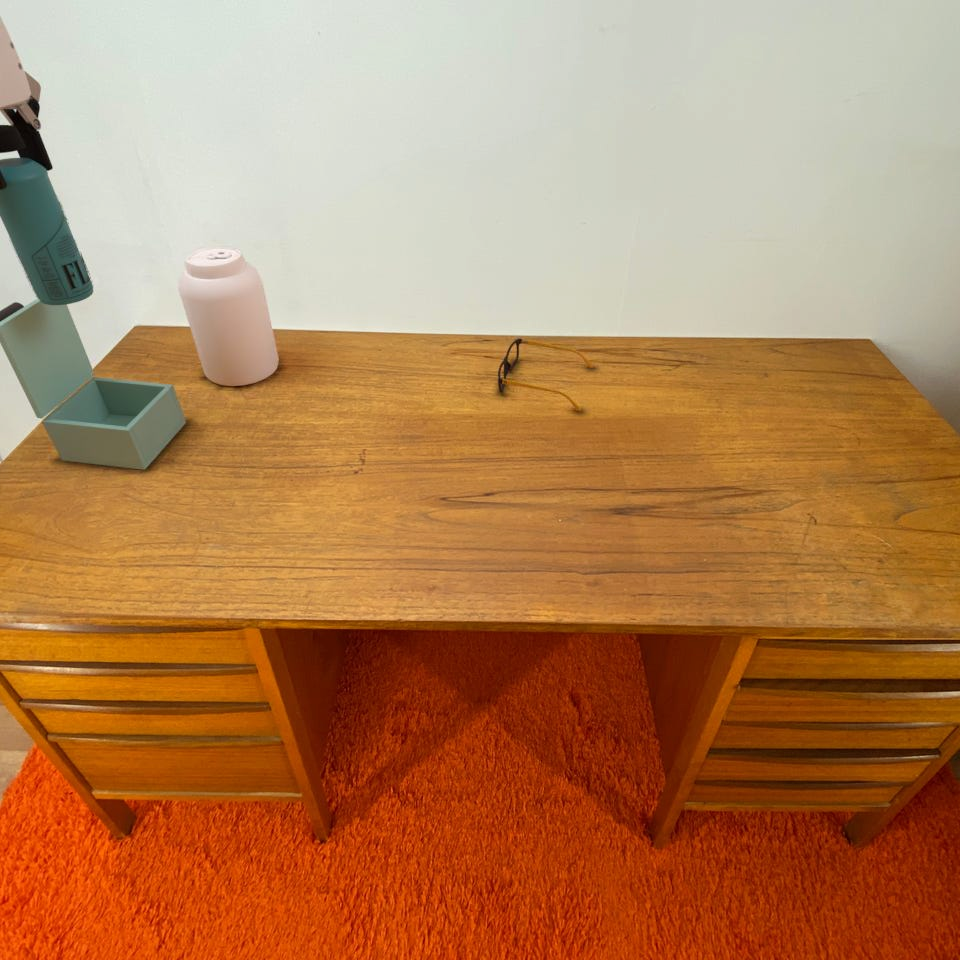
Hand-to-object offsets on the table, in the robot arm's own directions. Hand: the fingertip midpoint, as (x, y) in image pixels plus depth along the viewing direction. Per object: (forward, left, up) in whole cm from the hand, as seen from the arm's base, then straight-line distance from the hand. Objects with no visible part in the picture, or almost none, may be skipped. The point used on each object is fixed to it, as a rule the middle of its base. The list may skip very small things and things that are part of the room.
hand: (16, 177), depth 70 cm
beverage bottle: (0, 0, -15) cm, 15 cm away
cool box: (0, +1, -36) cm, 36 cm away
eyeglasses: (+62, -20, -37) cm, 75 cm away
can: (+21, +12, -37) cm, 44 cm away
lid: (-4, +5, -23) cm, 23 cm away
